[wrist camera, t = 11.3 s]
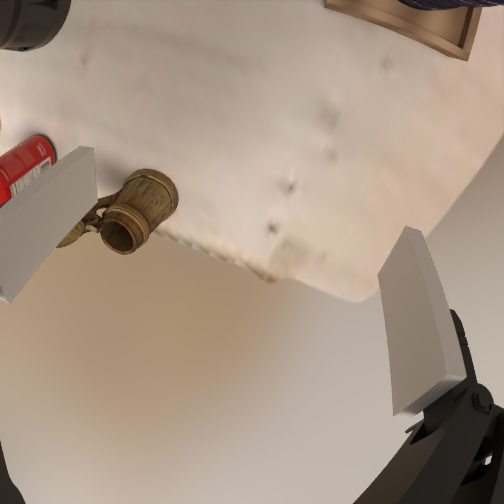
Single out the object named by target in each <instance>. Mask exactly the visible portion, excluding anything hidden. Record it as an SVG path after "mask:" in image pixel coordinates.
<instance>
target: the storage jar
mask: <svg viewBox="0 0 504 504" xmlns="http://www.w3.org/2000/svg"><path fill="white" fill-rule="evenodd" d="M398 1H399V2H401V3H402V4H404V5H407V6H409V7H411V8H414V9H418V10H425V11H431V10H437V11H438V10H448V9H454V8H458V7H461V6H464V7H492V6H497V5H504V0H398Z"/></svg>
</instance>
